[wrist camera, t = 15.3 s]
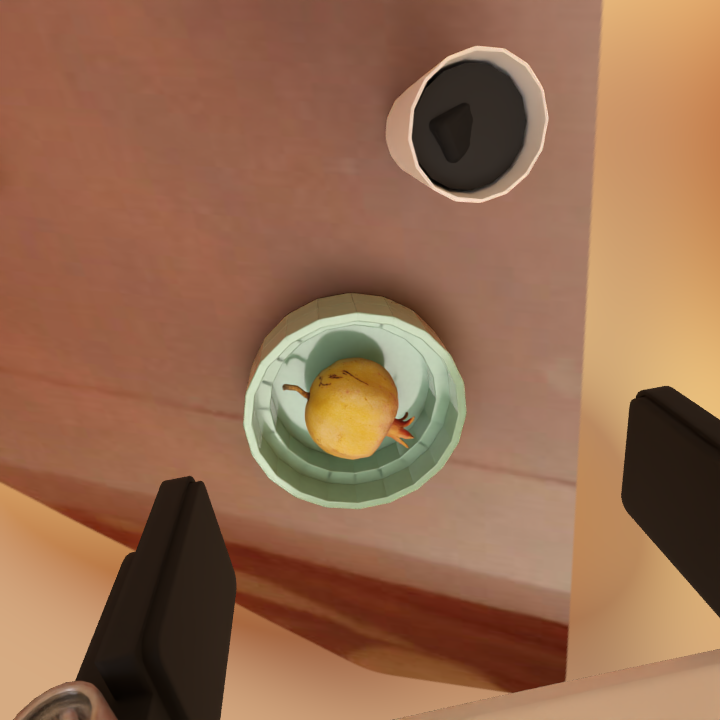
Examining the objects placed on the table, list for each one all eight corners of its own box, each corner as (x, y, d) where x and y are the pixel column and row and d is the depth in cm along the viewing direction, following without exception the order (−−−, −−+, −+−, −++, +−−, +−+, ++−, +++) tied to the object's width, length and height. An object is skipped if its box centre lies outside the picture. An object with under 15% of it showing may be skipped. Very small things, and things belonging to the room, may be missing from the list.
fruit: (258, 451, 34) (390, 500, 36) (299, 378, 30) (443, 438, 32) (275, 386, 39) (388, 432, 42) (312, 318, 36) (434, 373, 38)
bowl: (276, 484, 42) (272, 526, 38) (227, 313, 36) (216, 338, 32) (454, 449, 43) (472, 486, 38) (437, 274, 37) (456, 293, 32)
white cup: (408, 205, 34) (446, 229, 25) (359, 110, 32) (381, 98, 23) (496, 151, 34) (568, 156, 25) (453, 49, 31) (515, 12, 22)
